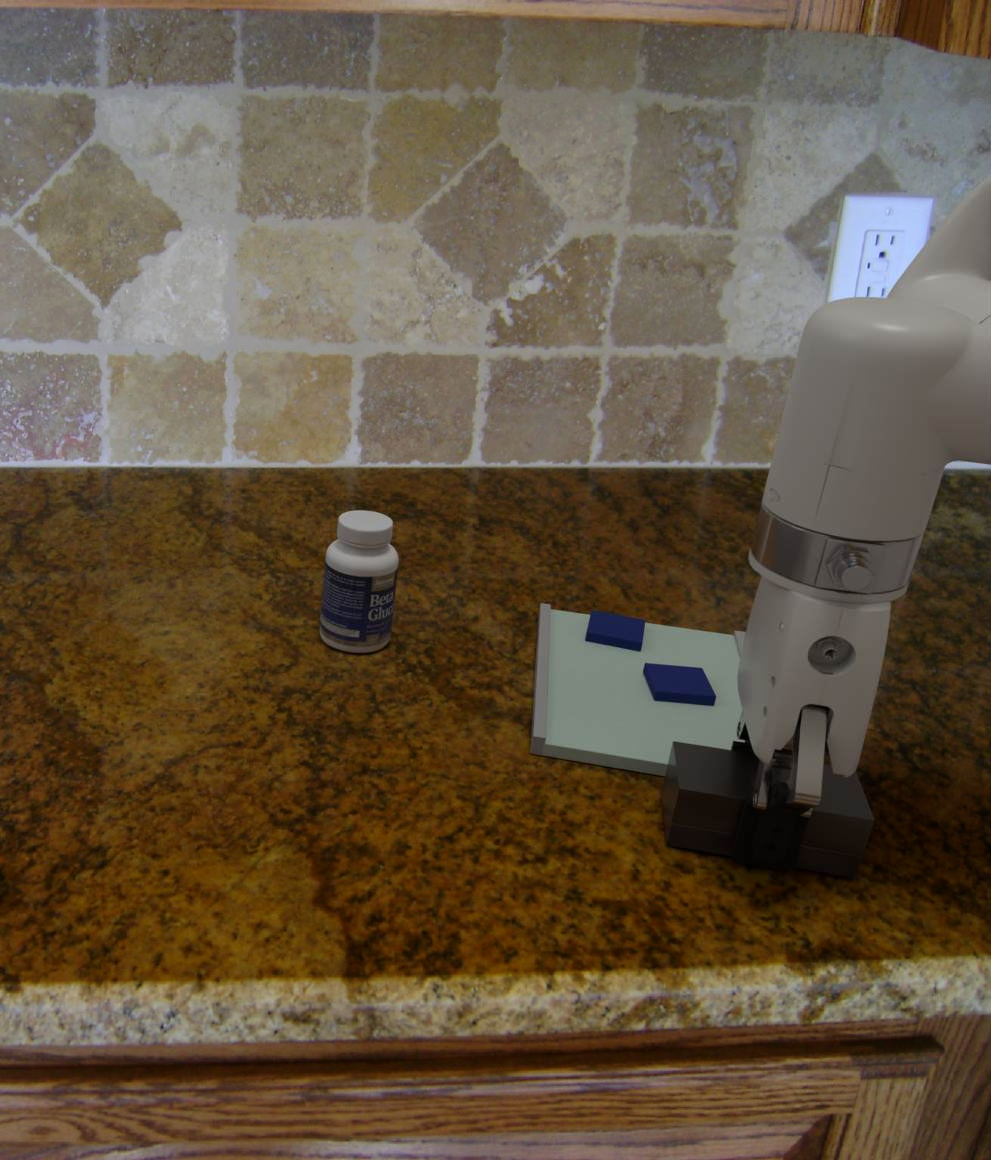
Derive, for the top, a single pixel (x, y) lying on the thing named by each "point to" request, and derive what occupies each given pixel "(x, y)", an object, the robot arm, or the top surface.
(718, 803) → the eraser
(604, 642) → the smudge
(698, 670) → the smudge
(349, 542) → the pill bottle
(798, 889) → the top surface
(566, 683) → the board
